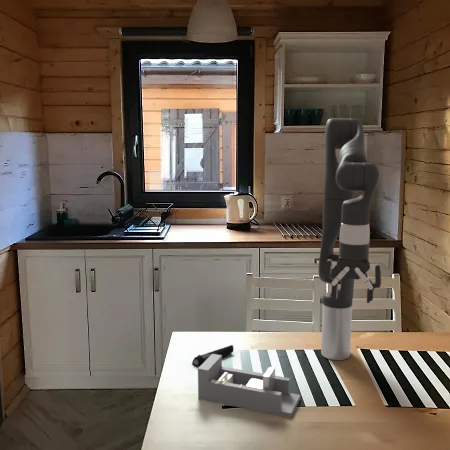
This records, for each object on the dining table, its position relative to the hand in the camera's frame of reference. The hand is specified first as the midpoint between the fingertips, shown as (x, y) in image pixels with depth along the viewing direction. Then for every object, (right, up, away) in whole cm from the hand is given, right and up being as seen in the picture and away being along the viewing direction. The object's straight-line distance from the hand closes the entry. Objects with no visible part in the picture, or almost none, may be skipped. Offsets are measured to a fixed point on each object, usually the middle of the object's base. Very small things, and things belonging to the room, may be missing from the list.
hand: (351, 300), depth 141 cm
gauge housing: (-27, -28, +5) cm, 39 cm away
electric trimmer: (-37, -23, +30) cm, 53 cm away
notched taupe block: (-24, -27, +4) cm, 36 cm away
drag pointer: (-34, -26, +6) cm, 43 cm away
